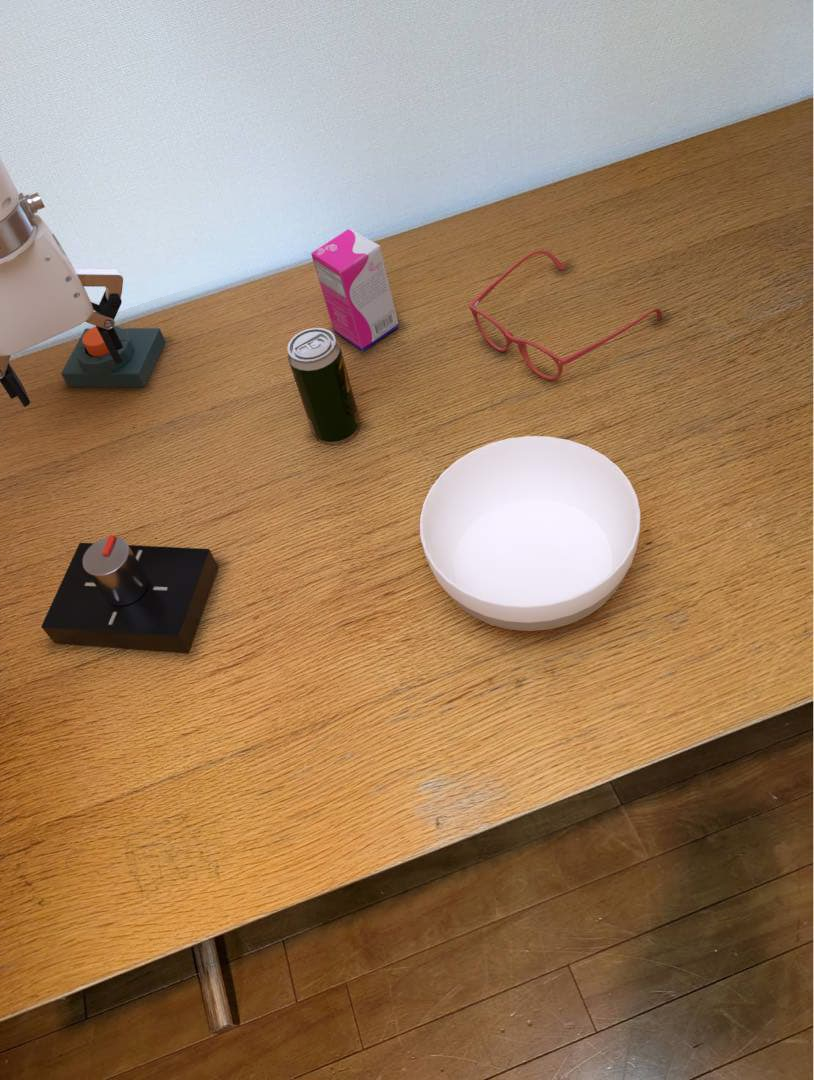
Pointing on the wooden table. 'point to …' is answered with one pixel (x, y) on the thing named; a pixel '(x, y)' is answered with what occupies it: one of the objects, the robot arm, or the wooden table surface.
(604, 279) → the wooden table surface
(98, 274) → the robot arm
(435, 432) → the wooden table surface
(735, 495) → the wooden table surface
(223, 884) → the wooden table surface
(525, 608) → the bowl
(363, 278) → the supplement box
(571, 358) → the red eyeglasses
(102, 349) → the button
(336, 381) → the beer can
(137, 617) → the knob panel
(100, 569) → the dark cylinder with disc
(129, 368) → the button block
